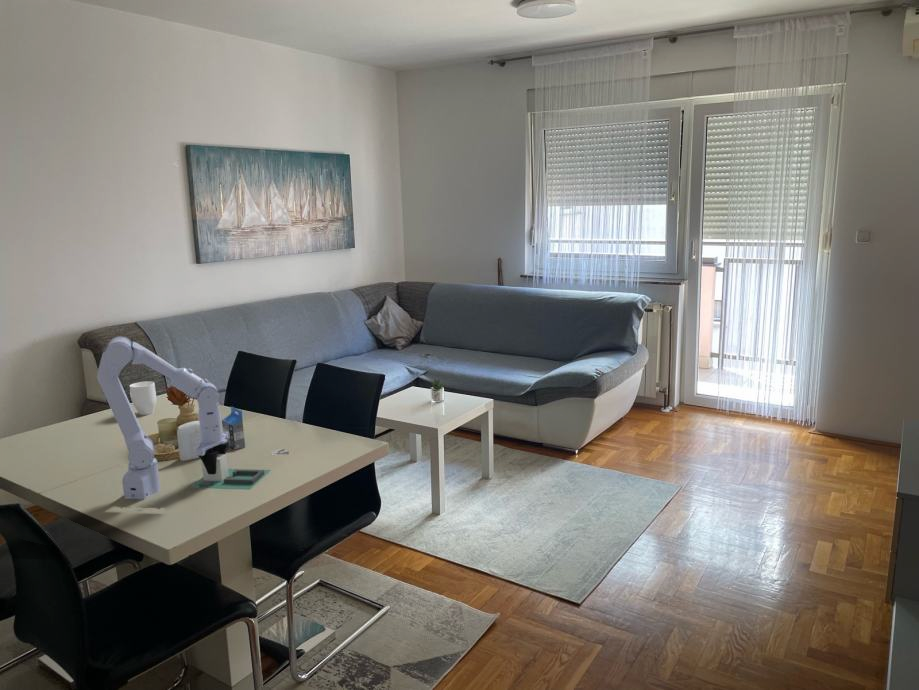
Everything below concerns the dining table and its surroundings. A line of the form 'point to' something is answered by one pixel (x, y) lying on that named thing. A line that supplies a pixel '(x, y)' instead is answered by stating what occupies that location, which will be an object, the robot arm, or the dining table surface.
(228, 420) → the milk carton
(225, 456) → the plug
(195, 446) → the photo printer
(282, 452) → the pliers
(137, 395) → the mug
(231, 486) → the board
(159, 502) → the dining table surface
